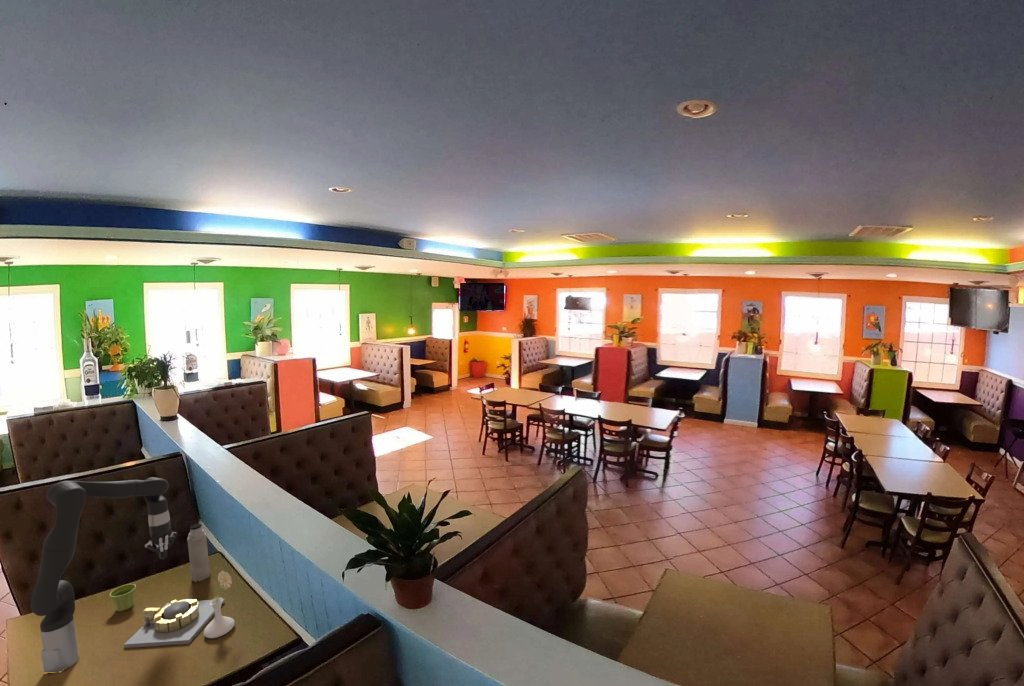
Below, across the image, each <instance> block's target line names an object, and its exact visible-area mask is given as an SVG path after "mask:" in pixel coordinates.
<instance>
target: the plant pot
mask: <svg viewBox="0 0 1024 686" xmlns="http://www.w3.org/2000/svg"><path fill="white" fill-rule="evenodd" d="M136 587H137V585H136V584H135V583H127V584H123V585H121V586H118V587H117V588H114V589H113V590H112V591H111V592H110V593H109V597H111V599H112V601H113V603H114V606H115V611H117V612H123V611H125V610H126V611H127V610H128V609H130V608H132V607H133V606H134V603H135V601H134V600H135V591H136Z"/></svg>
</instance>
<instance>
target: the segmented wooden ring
mask: <svg viewBox="0 0 1024 686" xmlns="http://www.w3.org/2000/svg"><path fill="white" fill-rule="evenodd" d="M180 601H187V602H188V603H189V611H187V612H186V613H185V614H183V615H182V614H181V613H180V614H178V615H176V618H173V619H164V613H163V612H164V610H165V609H166V608H167V607H168V606H170V605H171V604H173V603H176V602H180ZM198 601H199V600H197V598H194V599H193V598H185V599H180V600H177V599H173V600H171V601H170V603H171V604H169V605H167V606H165V605H164V606H165V607H164V608H162V609H161V607H146V608H145V609H144V610H143V611H142V612H143V618H144V619H143V620H144V622H145V617H146V616H149V620H150V621H154V627H155V629H156V630H157V631H158V632H159V631H160V632H168V631H169V632H170V631H173V630H177V629H180V627H181V628H182V627H184V626H186V625H187V624H189V623H191V622H192V621H193V620H194V619H195V618H196V617H197V616H198V613H199V605H198Z"/></svg>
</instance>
